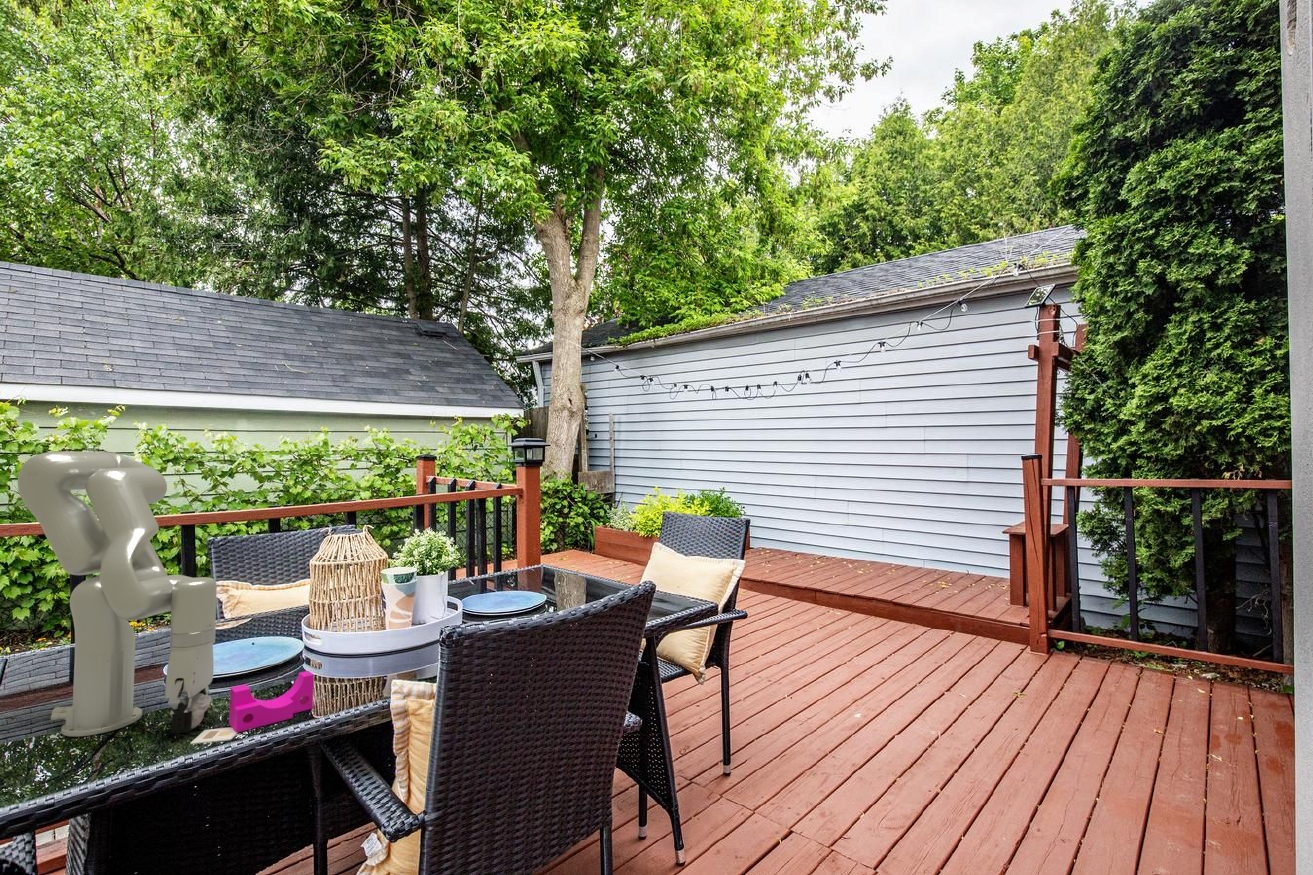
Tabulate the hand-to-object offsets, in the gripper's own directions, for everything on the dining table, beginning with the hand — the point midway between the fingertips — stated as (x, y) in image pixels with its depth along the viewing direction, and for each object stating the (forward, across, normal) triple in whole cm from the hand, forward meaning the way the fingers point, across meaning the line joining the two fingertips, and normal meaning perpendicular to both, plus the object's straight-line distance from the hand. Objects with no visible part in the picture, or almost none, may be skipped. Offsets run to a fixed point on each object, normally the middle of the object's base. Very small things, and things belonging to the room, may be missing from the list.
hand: (190, 723), depth 125 cm
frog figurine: (+1, 0, 0) cm, 1 cm away
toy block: (+1, -2, +15) cm, 15 cm away
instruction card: (+1, +5, +7) cm, 9 cm away
